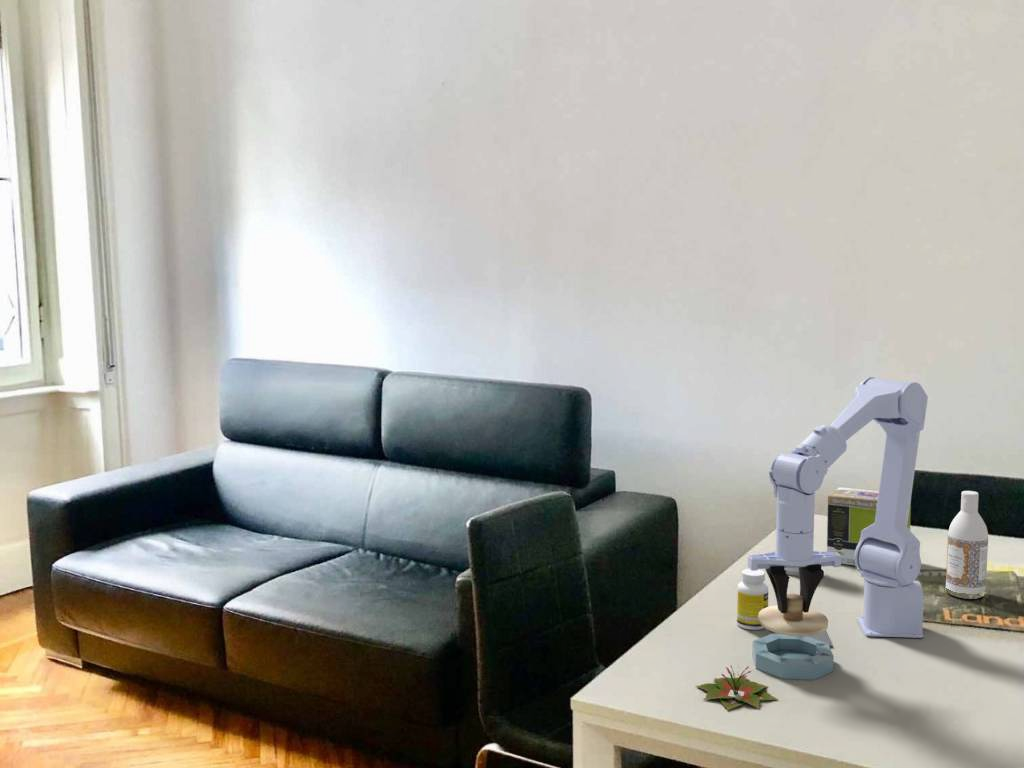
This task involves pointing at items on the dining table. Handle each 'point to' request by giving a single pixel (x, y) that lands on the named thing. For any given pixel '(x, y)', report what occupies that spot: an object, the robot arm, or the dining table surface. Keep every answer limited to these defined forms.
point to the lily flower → (736, 684)
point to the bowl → (792, 656)
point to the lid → (793, 619)
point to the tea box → (850, 519)
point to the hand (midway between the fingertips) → (793, 610)
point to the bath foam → (967, 548)
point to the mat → (819, 638)
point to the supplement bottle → (751, 599)
